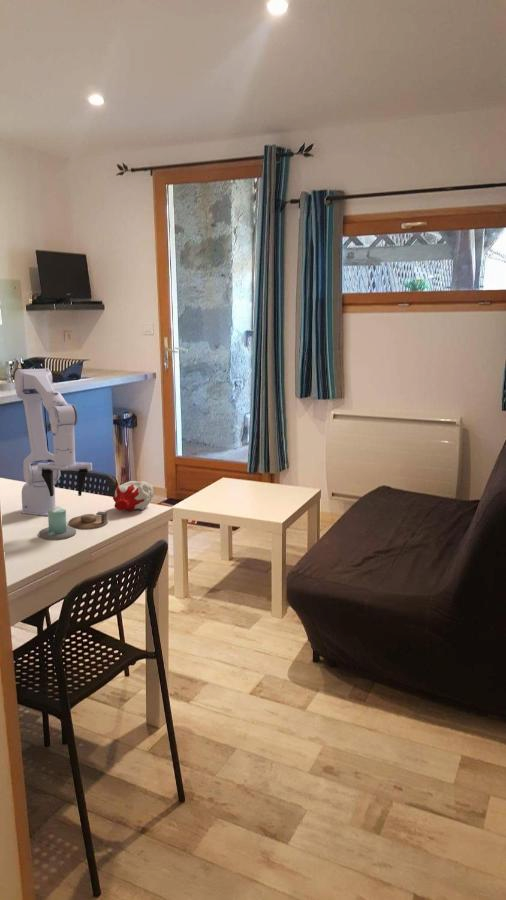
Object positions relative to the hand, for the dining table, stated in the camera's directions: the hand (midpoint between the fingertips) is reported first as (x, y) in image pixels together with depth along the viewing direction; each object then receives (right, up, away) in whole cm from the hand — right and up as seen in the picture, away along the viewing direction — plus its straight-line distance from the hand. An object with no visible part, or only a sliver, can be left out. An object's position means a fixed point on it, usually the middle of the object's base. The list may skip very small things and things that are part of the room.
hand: (66, 495), depth 185 cm
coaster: (-2, -11, -1) cm, 11 cm away
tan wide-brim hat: (+4, -9, +9) cm, 13 cm away
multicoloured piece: (+14, -6, +22) cm, 27 cm away
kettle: (-2, -10, -1) cm, 10 cm away
